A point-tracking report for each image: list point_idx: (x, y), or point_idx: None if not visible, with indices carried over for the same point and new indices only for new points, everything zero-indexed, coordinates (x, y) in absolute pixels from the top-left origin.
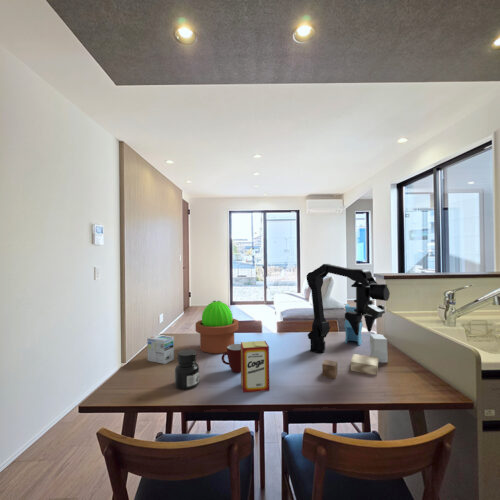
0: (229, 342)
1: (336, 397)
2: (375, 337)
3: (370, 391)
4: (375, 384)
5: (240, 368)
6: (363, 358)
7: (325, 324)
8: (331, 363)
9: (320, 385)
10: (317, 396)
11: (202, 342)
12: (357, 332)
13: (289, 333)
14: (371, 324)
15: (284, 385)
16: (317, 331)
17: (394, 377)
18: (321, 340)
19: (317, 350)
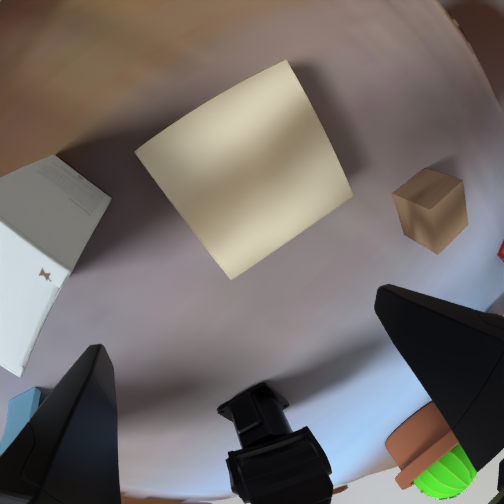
0: (429, 423)
1: (481, 97)
2: (28, 295)
3: (410, 31)
4: (359, 33)
5: (493, 314)
6: (246, 190)
7: (294, 497)
8: (453, 208)
9: (470, 167)
10: (496, 134)
11: None
12: (423, 296)
13: (213, 494)
14: (67, 430)
15: (496, 221)
16: (326, 458)
17: (215, 4)
18: (272, 431)
19: (273, 398)
